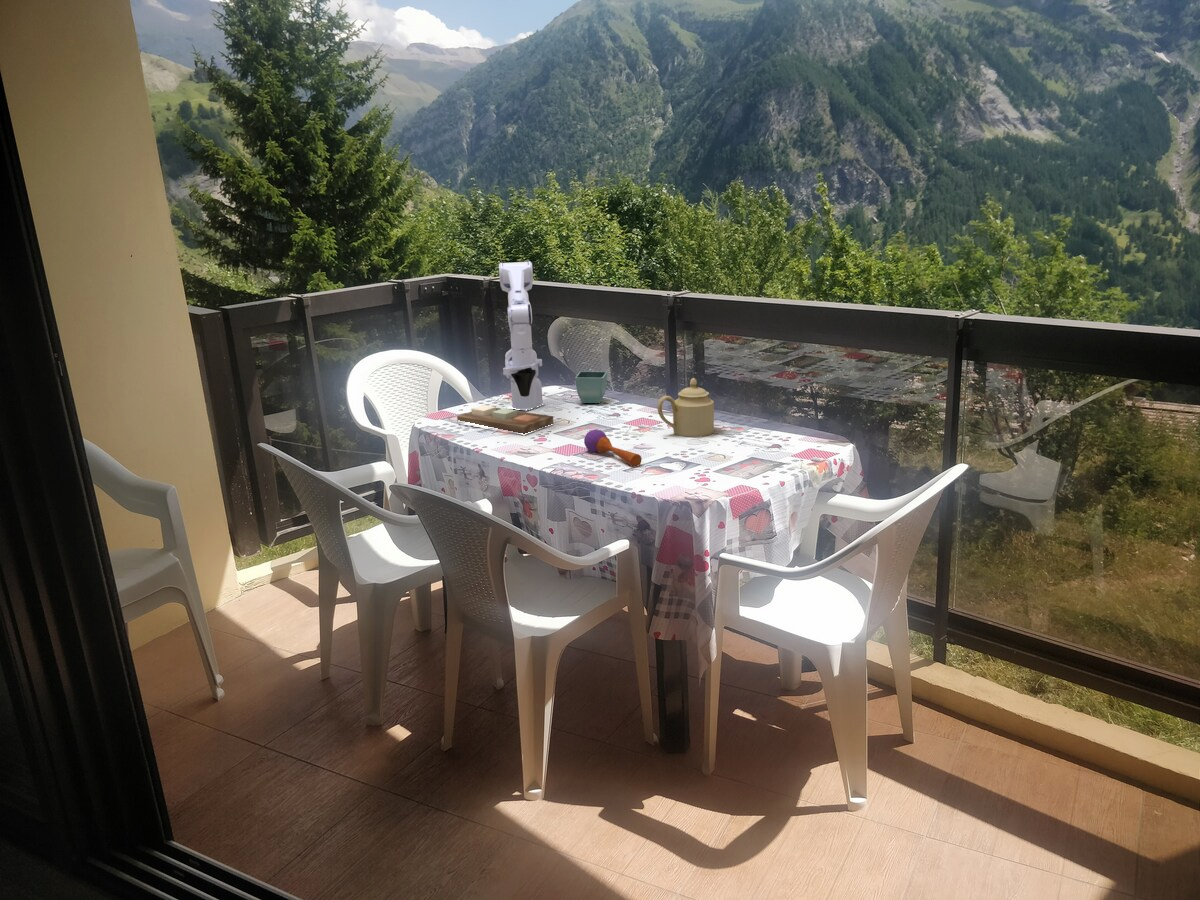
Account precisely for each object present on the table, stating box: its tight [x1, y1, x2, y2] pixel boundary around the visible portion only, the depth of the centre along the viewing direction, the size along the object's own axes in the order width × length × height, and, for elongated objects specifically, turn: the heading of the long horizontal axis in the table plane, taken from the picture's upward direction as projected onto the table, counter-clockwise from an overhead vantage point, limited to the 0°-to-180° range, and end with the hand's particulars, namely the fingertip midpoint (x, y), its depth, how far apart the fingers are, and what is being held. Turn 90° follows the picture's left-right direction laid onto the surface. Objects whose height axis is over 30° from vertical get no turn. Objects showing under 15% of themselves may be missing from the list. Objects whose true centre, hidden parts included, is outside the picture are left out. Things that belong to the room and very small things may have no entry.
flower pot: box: [574, 370, 608, 404], centre depth 294 cm, size 9×9×9 cm
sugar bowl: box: [656, 377, 715, 438], centre depth 256 cm, size 15×11×15 cm
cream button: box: [470, 404, 497, 416], centre depth 277 cm, size 5×5×2 cm
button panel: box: [456, 407, 554, 434], centre depth 273 cm, size 13×25×2 cm, turn 54°
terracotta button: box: [514, 415, 539, 423], centre depth 269 cm, size 5×5×2 cm
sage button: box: [492, 407, 518, 420], centre depth 273 cm, size 5×5×2 cm
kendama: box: [583, 429, 642, 467], centre depth 239 cm, size 6×6×20 cm
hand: (524, 395), depth 266 cm, fingers closed
